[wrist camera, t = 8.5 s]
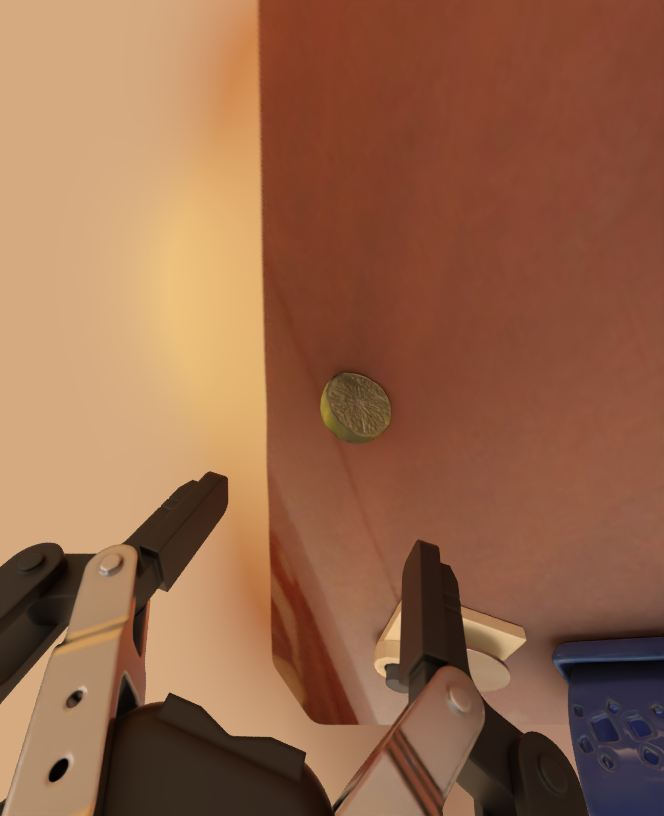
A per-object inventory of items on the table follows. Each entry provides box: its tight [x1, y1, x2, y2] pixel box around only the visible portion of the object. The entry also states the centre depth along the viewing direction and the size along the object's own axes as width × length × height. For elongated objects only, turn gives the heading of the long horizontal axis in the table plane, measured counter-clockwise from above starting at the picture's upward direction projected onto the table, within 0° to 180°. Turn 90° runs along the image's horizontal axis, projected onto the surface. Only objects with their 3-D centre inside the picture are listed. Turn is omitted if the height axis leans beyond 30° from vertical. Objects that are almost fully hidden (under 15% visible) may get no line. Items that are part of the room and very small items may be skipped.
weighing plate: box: [466, 645, 511, 692], centre depth 30 cm, size 8×8×1 cm
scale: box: [374, 600, 526, 678], centre depth 33 cm, size 14×12×3 cm
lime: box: [320, 372, 391, 444], centre depth 20 cm, size 4×5×5 cm
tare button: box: [386, 663, 409, 693], centre depth 34 cm, size 3×3×2 cm
